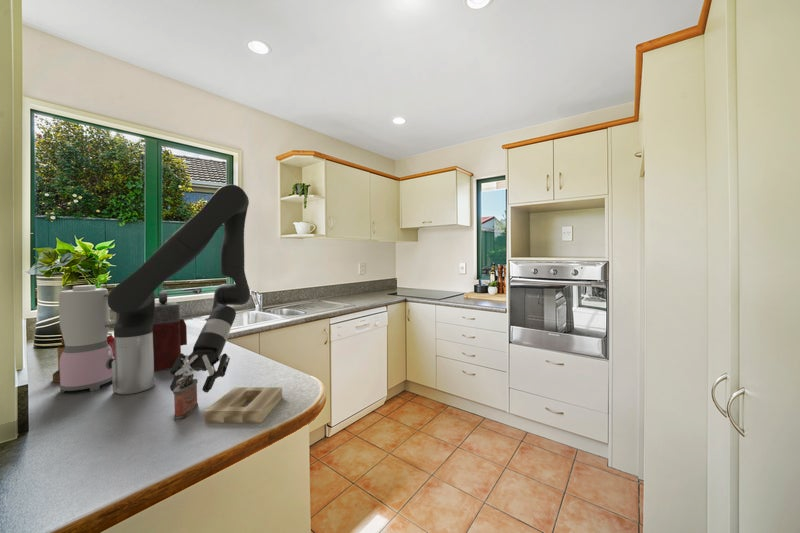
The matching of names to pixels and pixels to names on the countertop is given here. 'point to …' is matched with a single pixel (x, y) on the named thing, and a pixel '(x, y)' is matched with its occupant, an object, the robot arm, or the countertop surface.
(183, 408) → the lighter
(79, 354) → the blender
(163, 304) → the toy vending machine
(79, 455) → the countertop surface
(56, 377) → the mortar and pestle
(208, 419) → the rail
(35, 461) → the countertop surface
